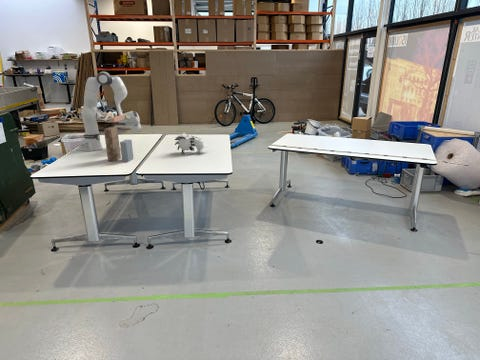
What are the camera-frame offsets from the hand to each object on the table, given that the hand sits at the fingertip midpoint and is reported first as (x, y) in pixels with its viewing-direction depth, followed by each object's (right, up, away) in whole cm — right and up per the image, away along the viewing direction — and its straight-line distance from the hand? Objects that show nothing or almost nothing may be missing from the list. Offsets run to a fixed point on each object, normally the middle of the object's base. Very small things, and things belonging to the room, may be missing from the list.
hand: (123, 116), depth 284 cm
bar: (-1, -4, -7) cm, 8 cm away
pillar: (-3, -38, -11) cm, 40 cm away
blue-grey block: (+8, -38, -13) cm, 41 cm away
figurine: (+58, -30, +11) cm, 66 cm away
